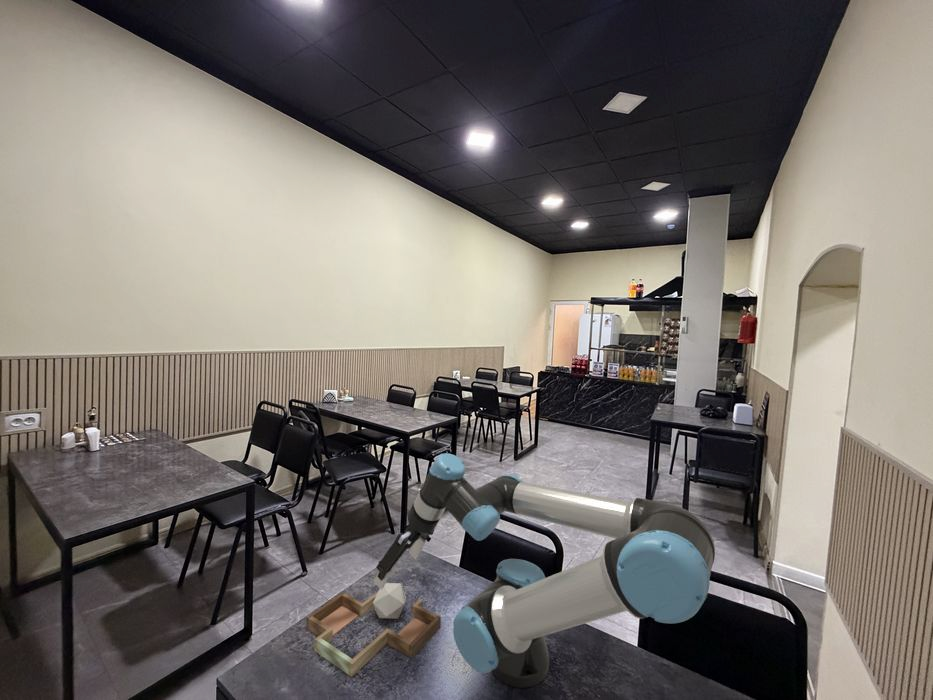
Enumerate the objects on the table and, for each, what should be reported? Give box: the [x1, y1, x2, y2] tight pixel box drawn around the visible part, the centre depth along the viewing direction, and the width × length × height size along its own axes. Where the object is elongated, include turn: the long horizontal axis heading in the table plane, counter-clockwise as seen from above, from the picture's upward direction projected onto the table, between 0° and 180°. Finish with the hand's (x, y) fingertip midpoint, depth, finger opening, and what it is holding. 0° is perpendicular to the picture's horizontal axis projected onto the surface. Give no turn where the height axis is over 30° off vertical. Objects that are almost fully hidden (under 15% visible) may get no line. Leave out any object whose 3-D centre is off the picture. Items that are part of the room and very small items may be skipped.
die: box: [373, 582, 407, 620], centre depth 107 cm, size 8×9×10 cm
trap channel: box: [305, 591, 442, 678], centre depth 101 cm, size 29×26×3 cm
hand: (396, 569), depth 100 cm, fingers open, 13 cm apart
